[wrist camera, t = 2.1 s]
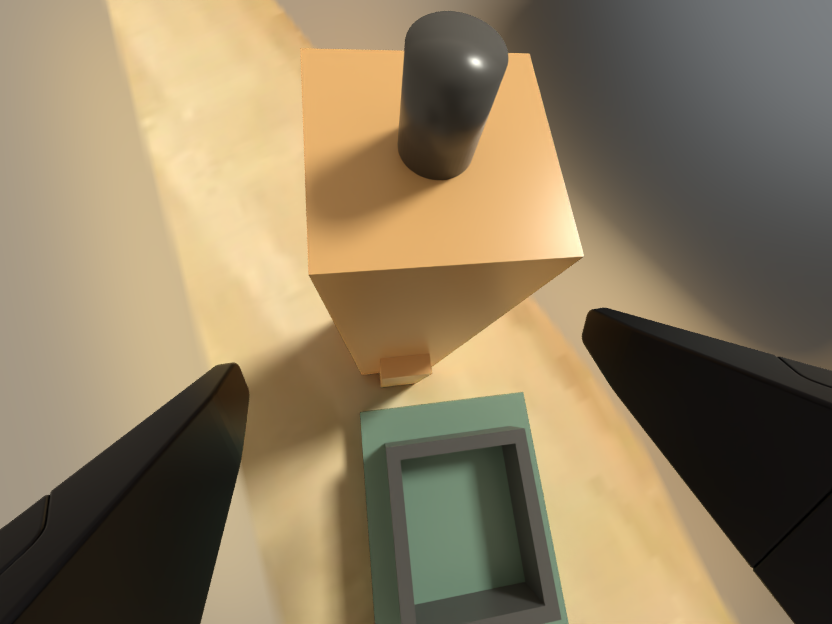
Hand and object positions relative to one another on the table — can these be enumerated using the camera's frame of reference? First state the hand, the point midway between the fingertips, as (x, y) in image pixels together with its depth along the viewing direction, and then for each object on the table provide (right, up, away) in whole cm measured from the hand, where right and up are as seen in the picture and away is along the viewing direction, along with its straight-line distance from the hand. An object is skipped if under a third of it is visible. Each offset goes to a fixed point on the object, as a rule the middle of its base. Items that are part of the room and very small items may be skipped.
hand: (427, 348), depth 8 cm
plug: (-2, -1, +11) cm, 11 cm away
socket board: (+2, -9, +9) cm, 13 cm away
